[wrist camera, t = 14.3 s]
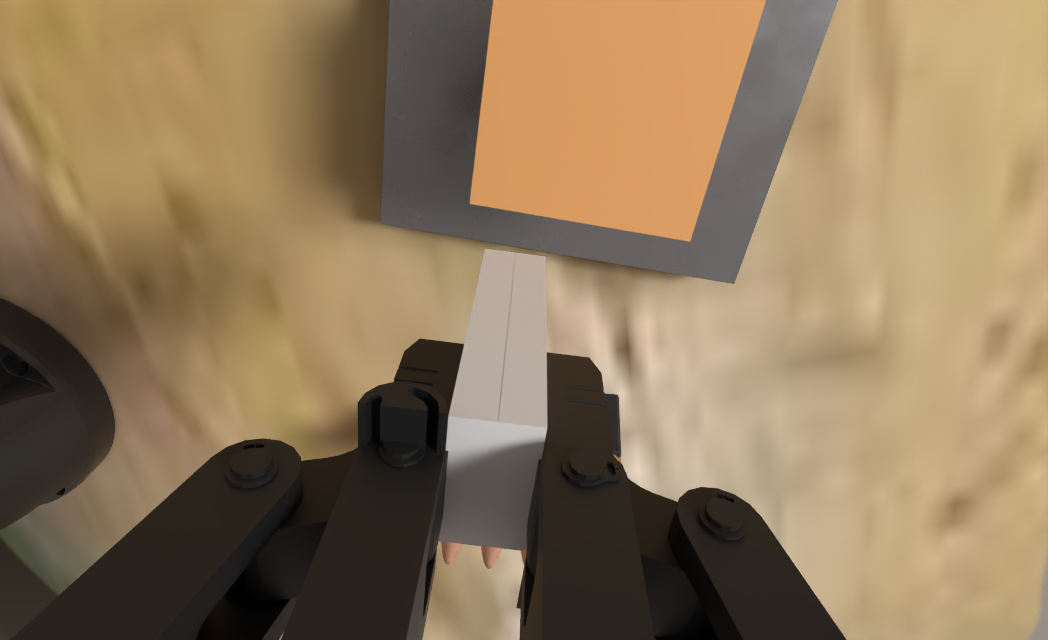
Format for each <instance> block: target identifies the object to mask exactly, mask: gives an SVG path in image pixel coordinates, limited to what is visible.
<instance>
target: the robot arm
mask: <svg viewBox="0 0 1048 640" xmlns="http://www.w3.org/2000/svg"><path fill="white" fill-rule="evenodd" d="M603 390H604V388H603V382H602V375H601V372H600V371H599V369H598V368H597V367H596V366H595V364H594V363H593V362H592V361H591V359H590V358H588V357H580V356H571V355H563V354H555V353H547V332H546V256H538V255H531V254H523V253H515V252H507V251H499V250H491V249H485V252H484V257H483V261H482V266H481V271H480V275H479V280H478V284H477V289H476V293H475V298H474V302H473V307H472V311H471V316H470V321H469V325H468V330H467V334H466V339H465V343H464V344H459V343H451V342H443V341H434V340H426V339H419V340H418V341H416V342H415V343H414V344H413V345H411V346H410V347H409V348H408V349H407V350H405V352H404V354H403V357H402V360H401V362H400V365H399V369H398V370H397V373H396V375H395V378H394V382H392V383H387V384H383V385H379V386H377V387H375V388H373V389H371V390H370V391H368V392H366V393H365V394H364V395H363V397H362V398H361V399H360V400H359V402H358V447H357V448H356V449H354V450H353V451H350V452H347V453H345V454H342V455H338V456H334V457H329V458H322V459H313V460H305V461H301V457H300V456H299V454H298V453H297V452H296V450H295V449H294V447H292V446H290V445H288V444H286V443H284V442H282V441H278V440H271V439H254V440H245V441H242V442H239V443H237V444H234V445H231V446H228V447H226V448H225V449H223V450H222V451H220V452H219V453H217V454H216V455H214V456H213V457H211V458H210V459H209V460H208V461H207V462H206V463H205V464H204V465H202V466H201V467H200V468H199V469H198V470H197V471H196V472H195V473H194V474H193V475H191V476H190V477H189V478H188V479H187V480H186V481H185V482H184V483H183V484H182V485H180V486H179V487H178V488H177V489H176V490H175V491H174V492H173V493H172V494H170V495H169V496H168V497H167V498H166V499H165V500H164V501H163V502H162V503H161V504H159V505H158V506H157V507H156V508H155V509H154V510H153V511H152V512H151V513H150V514H148V515H147V516H146V517H145V518H144V519H143V520H142V521H141V522H140V523H138V524H137V525H136V526H135V527H134V528H133V529H132V530H131V531H130V532H129V533H127V534H126V535H125V536H124V537H123V538H122V539H121V540H120V541H119V542H118V543H116V544H115V545H114V546H113V547H112V548H111V549H110V550H109V551H108V552H106V553H105V554H104V555H103V556H102V557H101V558H100V559H99V560H98V561H97V562H95V563H94V564H93V565H92V566H91V567H90V568H89V569H88V570H87V571H86V572H84V573H83V574H82V575H81V576H80V577H79V578H78V579H77V580H76V581H74V582H73V583H72V584H71V585H70V586H69V587H68V588H67V589H66V590H65V591H63V592H62V593H61V594H60V595H59V596H58V597H57V598H56V599H55V600H54V601H53V602H51V603H50V604H49V605H48V606H47V607H46V608H45V609H44V610H42V612H40V613H39V614H38V615H37V616H36V617H35V618H34V619H33V620H31V622H29V623H28V624H27V625H26V626H25V627H24V628H23V629H22V630H20V631H19V632H18V633H17V634H16V635H15V636H14V637H13V638H12V639H10V640H279V638H280V637H281V635H282V634H283V632H284V634H283V636H282V639H281V640H422V638H423V633H424V627H425V622H426V616H427V611H428V605H429V600H430V594H431V589H432V583H433V578H434V572H435V563H436V551H437V544H438V541H440V542H449V543H458V544H467V545H477V546H486V547H495V548H504V549H513V550H522V551H525V546H526V560H525V565H524V571H523V576H522V581H521V587H520V592H519V597H518V603H517V608H520V609H521V618H520V640H846V638H845V637H844V636H843V634H842V633H841V631H840V630H839V628H838V627H837V625H836V624H835V623H834V621H833V620H832V618H831V617H830V615H829V614H828V612H827V611H826V609H825V608H824V607H823V605H822V604H821V602H820V601H819V599H818V598H817V596H816V595H815V594H814V592H813V591H812V589H811V588H810V586H809V585H808V583H807V582H806V581H805V579H804V578H803V576H802V575H801V573H800V572H799V570H798V569H797V568H796V566H795V565H794V563H793V562H792V560H791V559H790V557H789V556H788V555H787V553H786V552H785V550H784V549H783V547H782V546H781V544H780V543H779V542H778V540H777V539H776V537H775V536H774V534H773V533H772V531H771V530H770V529H769V527H768V526H767V524H766V523H765V521H764V520H763V518H762V517H761V516H760V515H759V514H758V513H757V512H756V511H755V509H754V508H753V507H752V506H751V505H750V504H748V503H747V502H745V501H744V500H742V499H741V498H739V497H738V496H736V495H734V494H732V493H729V492H726V491H723V490H720V489H718V488H706V487H700V488H696V489H692V490H688V491H687V492H686V493H685V494H684V495H682V496H681V497H680V498H679V501H678V502H676V501H674V500H671V499H668V498H665V497H663V496H660V495H657V494H654V493H652V492H650V491H648V490H645V489H643V488H641V487H640V486H638V485H637V484H635V483H634V482H632V481H631V480H630V479H628V478H627V474H626V472H625V470H624V467H623V465H622V464H621V463H620V462H619V461H618V460H617V459H616V458H615V457H614V455H613V449H612V442H611V435H610V429H609V422H608V415H607V408H606V406H605V403H606V402H605V395H604V392H603ZM114 433H115V421H114V414H113V410H112V406H111V403H110V400H109V397H108V395H107V393H106V391H105V389H104V387H103V385H102V383H101V381H100V380H99V378H98V377H97V375H96V373H95V372H94V371H93V369H92V368H91V367H90V365H89V364H88V363H87V362H86V360H85V359H84V358H83V357H82V356H81V355H80V353H79V352H78V351H77V350H76V349H75V348H74V347H73V346H72V345H71V344H70V343H69V342H67V341H66V340H65V339H64V338H63V337H62V336H61V335H59V334H58V333H57V332H56V331H55V330H53V329H52V328H51V327H49V326H48V325H46V324H45V323H44V322H42V321H41V320H39V319H38V318H36V317H35V316H33V315H31V314H30V313H28V312H26V311H24V310H23V309H21V308H19V307H17V306H15V305H13V304H11V303H9V302H7V301H5V300H2V299H0V530H1V529H3V528H5V527H6V526H8V525H10V524H12V523H13V522H15V521H17V520H18V519H20V518H22V517H23V516H25V515H26V514H28V513H29V512H31V511H32V510H34V509H35V508H36V507H38V506H39V505H42V504H46V503H49V502H52V501H54V500H56V499H58V498H60V497H62V496H64V495H65V494H67V493H69V492H70V491H72V490H73V489H74V488H76V487H77V486H78V485H79V484H80V483H82V482H83V481H84V480H85V479H86V478H87V477H88V476H89V474H90V473H91V472H92V471H93V470H94V469H95V468H96V467H97V466H98V465H99V464H100V463H101V462H102V461H103V460H104V459H105V457H106V456H107V454H108V453H109V451H110V449H111V446H112V443H113V439H114ZM526 541H527V544H526Z"/></svg>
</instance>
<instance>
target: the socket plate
mask: <svg viewBox="0 0 1048 640" xmlns="http://www.w3.org/2000/svg"><path fill="white" fill-rule="evenodd" d="M837 2H838V0H766V2H765V5H764V9H763V12H762V15H761V18H760V21H759V25H758V28H757V31H756V34H755V37H754V40H753V44H752V47H751V50H750V53H749V56H748V59H747V63H746V66H745V69H744V72H743V75H742V79H741V82H740V85H739V88H738V91H737V94H736V98H735V101H734V104H733V107H732V110H731V114H730V117H729V120H728V123H727V126H726V129H725V133H724V136H723V139H722V142H721V145H720V148H719V152H718V155H717V158H716V161H715V164H714V168H713V171H712V174H711V177H710V180H709V183H708V187H707V190H706V193H705V196H704V199H703V202H702V206H701V209H700V212H699V215H698V218H697V222H696V225H695V228H694V231H693V234H692V237H691V241H690V242H689V241H683V240H678V239H672V238H666V237H660V236H654V235H648V234H643V233H637V232H631V231H625V230H619V229H614V228H608V227H602V226H596V225H590V224H584V223H579V222H573V221H567V220H561V219H555V218H549V217H544V216H538V215H532V214H526V213H520V212H514V211H509V210H503V209H497V208H491V207H485V206H479V205H474V204H470V196H471V187H472V178H473V170H474V161H475V153H476V144H477V135H478V127H479V118H480V110H481V101H482V92H483V84H484V75H485V67H486V58H487V49H488V41H489V32H490V24H491V15H492V6H493V0H390V1H389V25H388V50H387V74H386V99H385V124H384V148H383V173H382V197H381V222H380V224H385V225H391V226H397V227H402V228H408V229H414V230H420V231H426V232H432V233H438V234H444V235H450V236H455V237H461V238H467V239H473V240H479V241H485V242H491V243H497V244H502V245H508V246H514V247H520V248H526V249H532V250H538V251H544V252H550V253H555V254H561V255H567V256H573V257H579V258H585V259H591V260H597V261H602V262H608V263H614V264H620V265H626V266H632V267H638V268H644V269H650V270H655V271H661V272H667V273H673V274H679V275H685V276H691V277H697V278H702V279H708V280H714V281H720V282H726V283H732V284H734V283H735V280H736V277H737V274H738V272H739V269H740V266H741V263H742V261H743V258H744V255H745V253H746V250H747V247H748V244H749V242H750V239H751V236H752V233H753V231H754V228H755V225H756V223H757V220H758V217H759V214H760V212H761V209H762V206H763V203H764V201H765V198H766V195H767V193H768V190H769V187H770V184H771V182H772V179H773V176H774V173H775V171H776V168H777V165H778V163H779V160H780V157H781V154H782V152H783V149H784V146H785V143H786V141H787V138H788V135H789V133H790V130H791V127H792V124H793V122H794V119H795V116H796V114H797V111H798V108H799V105H800V103H801V100H802V97H803V94H804V92H805V89H806V86H807V84H808V81H809V78H810V75H811V73H812V70H813V67H814V64H815V62H816V59H817V56H818V54H819V51H820V48H821V45H822V43H823V40H824V37H825V34H826V32H827V29H828V26H829V24H830V21H831V18H832V15H833V13H834V10H835V7H836V4H837Z"/></svg>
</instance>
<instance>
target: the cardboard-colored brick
mask: <svg viewBox="0 0 1048 640" xmlns="http://www.w3.org/2000/svg"><path fill="white" fill-rule="evenodd" d="M765 2H766V0H493V6H492V15H491V24H490V32H489V41H488V49H487V58H486V67H485V75H484V84H483V92H482V101H481V110H480V118H479V127H478V135H477V144H476V153H475V161H474V170H473V178H472V187H471V196H470V204H474V205H479V206H485V207H491V208H497V209H503V210H509V211H514V212H520V213H526V214H532V215H538V216H544V217H549V218H555V219H561V220H567V221H573V222H579V223H584V224H590V225H596V226H602V227H608V228H614V229H619V230H625V231H631V232H637V233H643V234H648V235H654V236H660V237H666V238H672V239H678V240H683V241H689V242H690V241H691V237H692V234H693V231H694V228H695V225H696V222H697V218H698V215H699V212H700V209H701V206H702V202H703V199H704V196H705V193H706V190H707V187H708V183H709V180H710V177H711V174H712V171H713V168H714V164H715V161H716V158H717V155H718V152H719V148H720V145H721V142H722V139H723V136H724V133H725V129H726V126H727V123H728V120H729V117H730V114H731V110H732V107H733V104H734V101H735V98H736V94H737V91H738V88H739V85H740V82H741V79H742V75H743V72H744V69H745V66H746V63H747V59H748V56H749V53H750V50H751V47H752V44H753V40H754V37H755V34H756V31H757V28H758V25H759V21H760V18H761V15H762V12H763V9H764V5H765Z"/></svg>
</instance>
